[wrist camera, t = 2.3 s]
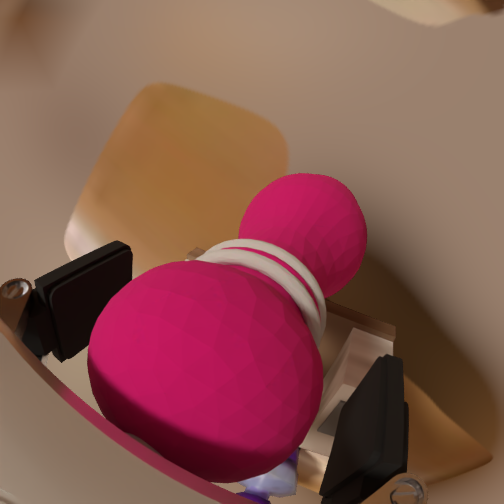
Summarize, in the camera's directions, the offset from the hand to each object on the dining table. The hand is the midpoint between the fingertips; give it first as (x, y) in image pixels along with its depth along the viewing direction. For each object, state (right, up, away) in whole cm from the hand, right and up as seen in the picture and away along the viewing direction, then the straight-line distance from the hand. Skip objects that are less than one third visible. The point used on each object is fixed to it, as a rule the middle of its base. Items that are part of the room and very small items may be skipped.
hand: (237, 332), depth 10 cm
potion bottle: (+4, -22, +23) cm, 32 cm away
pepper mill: (+5, +5, +11) cm, 13 cm away
